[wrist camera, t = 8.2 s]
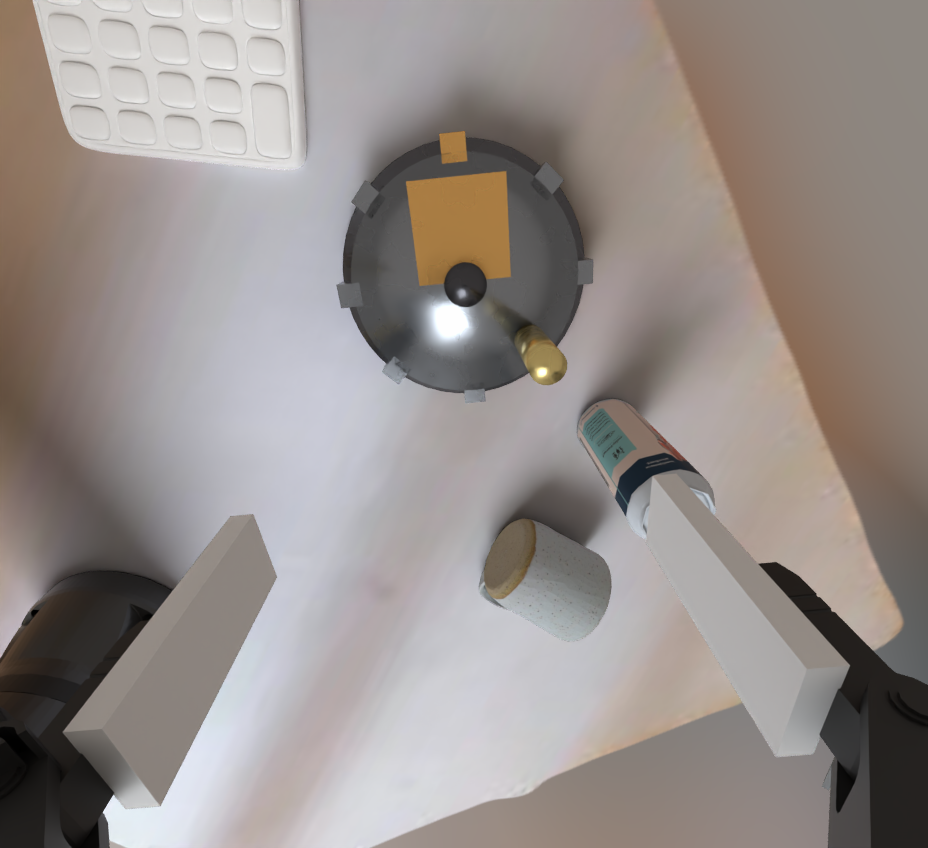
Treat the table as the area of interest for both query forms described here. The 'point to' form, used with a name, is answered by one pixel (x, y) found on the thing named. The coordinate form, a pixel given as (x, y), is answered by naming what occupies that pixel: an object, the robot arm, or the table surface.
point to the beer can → (634, 459)
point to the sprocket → (465, 271)
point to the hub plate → (434, 150)
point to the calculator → (180, 78)
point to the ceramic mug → (547, 579)
